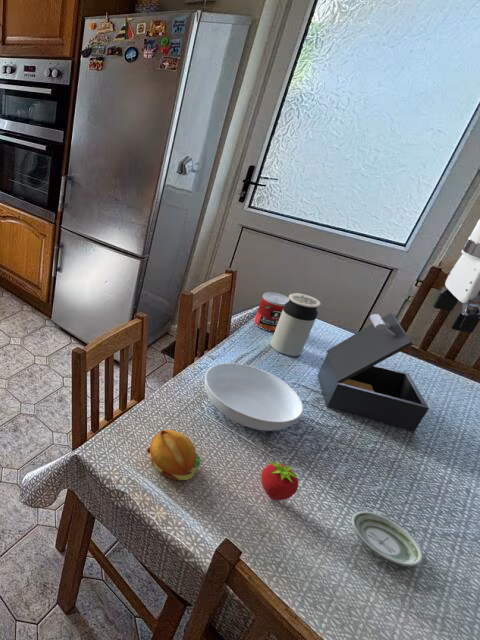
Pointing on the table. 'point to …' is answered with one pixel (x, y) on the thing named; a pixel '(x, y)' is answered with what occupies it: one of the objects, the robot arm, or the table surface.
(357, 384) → the brown rectangular block
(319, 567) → the table surface
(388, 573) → the table surface
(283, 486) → the strawberry
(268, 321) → the canned food
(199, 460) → the cheeseburger
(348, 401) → the lidded storage box
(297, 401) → the serving bowl
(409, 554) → the saucer
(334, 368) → the lid
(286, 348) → the travel mug
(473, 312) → the robot arm
